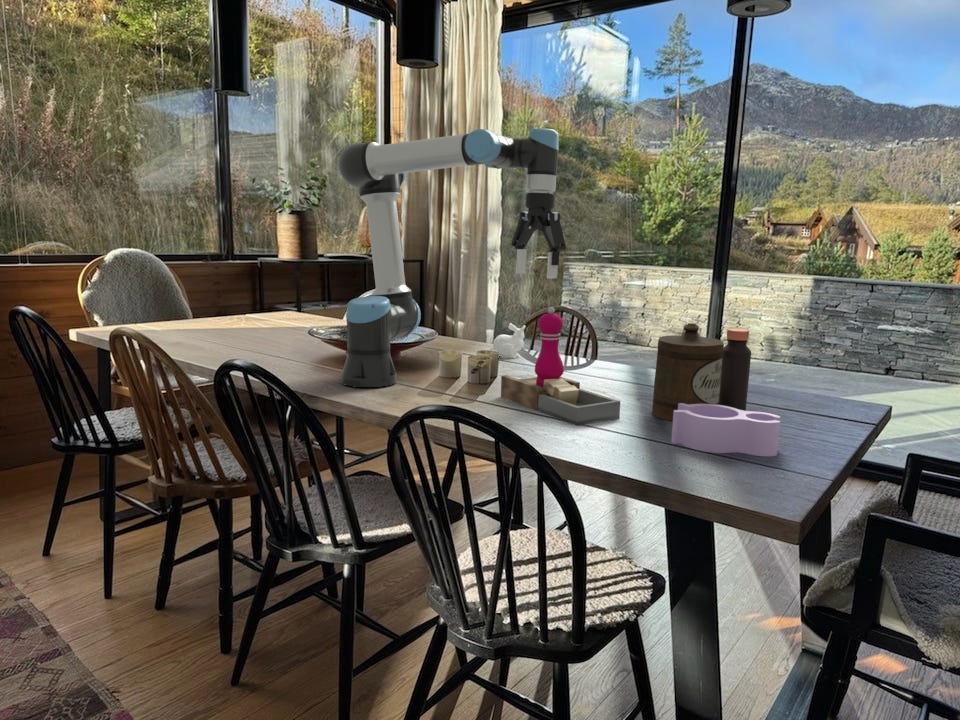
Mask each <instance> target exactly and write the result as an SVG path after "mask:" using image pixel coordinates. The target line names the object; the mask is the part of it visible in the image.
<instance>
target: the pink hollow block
mask: <svg viewBox="0 0 960 720" xmlns="http://www.w3.org/2000/svg"><path fill="white" fill-rule="evenodd" d="M780 430H781V416H780V415H778V414H773V413H769V412H762V411H751V410H750V411H749V410H746V411H743V410H739V409H736V408H732V407H728V406H723V405H715V404H684V403H678V410H674V412H673V421H672V428H671V444H673V445H676V444H677V445H682V446H685V447H687V448H690V449H693V450H696V451H699V452H700V451H701V452H705V453H706V452H707V453H713V454H715V453H716V454H729V453H741V454H747V455H751V456H759V457H775V456H777V455H778V449H779V448H778V447H779V442H780V441H779V440H780V439H779V438H780Z"/></svg>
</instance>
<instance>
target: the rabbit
mask: <svg viewBox="0 0 960 720" xmlns="http://www.w3.org/2000/svg"><path fill="white" fill-rule="evenodd" d="M508 329H509V330H511V331H513V335H512V334H511V335H508V334H504V333H503V334H499V335H497V336H496V337H495V339H494V340H493V342H492V343H493V344H492V347H491V348H490V349H489V351H490V350H497V351H498V352H499V355H500V357H499V358H501V359H515V358H520V357H521V356H520V354H519V353H518V351H520V350H522V348H523V346H524V339H525V329H526V325H525V324H524V325H522V326H521V327H520V328H519V327H517V326H515V324H513V323H511V322H510V323H509V324H508Z"/></svg>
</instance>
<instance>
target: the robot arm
mask: <svg viewBox="0 0 960 720" xmlns="http://www.w3.org/2000/svg"><path fill="white" fill-rule="evenodd" d="M559 151H560V149H559V133H558V131H557V130H555V129H551V128H542V127H541V128H539V127H538V128H532V129H530V131H529V133H528V137H508V136H505V135H501V134H499V133H496V132H494V131H492V130H489V129H486V128H477V129H474V130H472V131H471V132H470V133H462V134H455V135H454V134H453V135H448V136H440V137H438V136H437V137H431V138H424V139H418V140H417V139H416V140H410V141H402V142H394V143H388V144H380V143H378V142H376V141H370V142H356V143H352V144H349V145H347V146H346V147H345V148H344V149H343V150H342V151H341V153H340V155H339V157H338V165H337V166H338V170H339V174H340V175H341V177H342V179H343V180H344V181H345V182H346V183H347V184H348V185H349V186H352V187H354V188H358V190H359V191H358V192H359V199H361V200H362V201H363V202H364V203H365V205H366V214H367V222H368V229H369V239H370V248H371V256H372V264H373V265H372V266H373V273H374V281H375V282H374V284H375V289H374V290H373V291H372V293H371V294H370V295H367V296H360V297H354V298H353V299H350V300H349V302H348V303H347V304H346V313H345V314H346V315H345V318H346V345H347V346H346V347H347V349H346V350H347V355H346V359H345V362H344V364H343V365H344V366H343V368H342V373H341V376H340V377H341V378H340V379H341V382H342V383H343V384H346V385H349V386H355V387H379V388H382V387H381V386H386V387H389V386H388V385H391V386H393V385H395V384H396V383H397V381H398V379H397V378H398V377H397V371H396V369H395V368H396V367H395V365H394V363H393V362H394V361H393V359H392V356H391V341H392V340H395V339H402V338H405V337H407V336H409V335H411V334H412V333H413V332H415V330H416V329H417V328H418V326H420V322H421V318H422V317H421V315H422V313H421V309H420V306H419V305H418V303H417V302H416V300H415V299H413V293H412V289H411V288H409V287H408V286H407V285H406V278H405V277H406V276H405V268H404V261H403V260H404V258H403V250H402V241H401V232H400V231H401V230H400V223H399V214H398V203H397V201H398V200H399V198H401V195H402V192H401V191H402V189H401V187H402V186H403V183H404V181H405V179H406V175H407V174H408V173H415V172H423V171H424V172H425V171H433V170H441V169H449V168H459V167H466V166H467V167H468V166H479V165H484V166H485V167H486V168H489V169H497V170H500V169H527V171H526V185H525V190H526V191H527V193H526V194H525V204H524V205H525V208H526V209H528V211H522V210H521V211H520V213H519V220H518V222H517V226H516V229H515V231H514V234H513V238H512V240H511V246H512V247H514V248H515V261H516V263H515V274H516V275H517V274H518V275H525V274H526V270H527V251H528V250H527V249H528V248H527V245H528V243H529V241H531V240H530V239H531V238H532V237H533V234H534V233H535V232H536V231H537V230H540V231H541V233H543V236H544V238H545V240H546V243H547V246H548V248H549V250H548V253H547V255H548V256H547V268H546V279H558V268H559V264H560V253H561V252H563V251H565V250H566V249H567V245H566V242H565V236H564V232H563V229H562V224H561V213H560V212H557V211H556V212H554V211H552V210H553V209H555V205H556V195H555V194H554V193H555V192H556V189H557V188H556V185H557V172H558V159H559ZM342 383H341V384H342ZM394 383H395V384H394ZM343 384H342V385H343ZM392 384H393V385H392ZM349 386H348V387H349ZM355 387H354V388H355Z"/></svg>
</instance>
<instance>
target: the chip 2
mask: <svg viewBox="0 0 960 720" xmlns="http://www.w3.org/2000/svg"><path fill="white" fill-rule="evenodd" d="M578 393H579V389H578V388H576V387H575V386H574V385H569V386H558V387H556V388H555V393H554V397H553V398H556V399H559V400H561V401H564V402H567V403H570V404H573V405H576V402H577V397H578Z"/></svg>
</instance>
